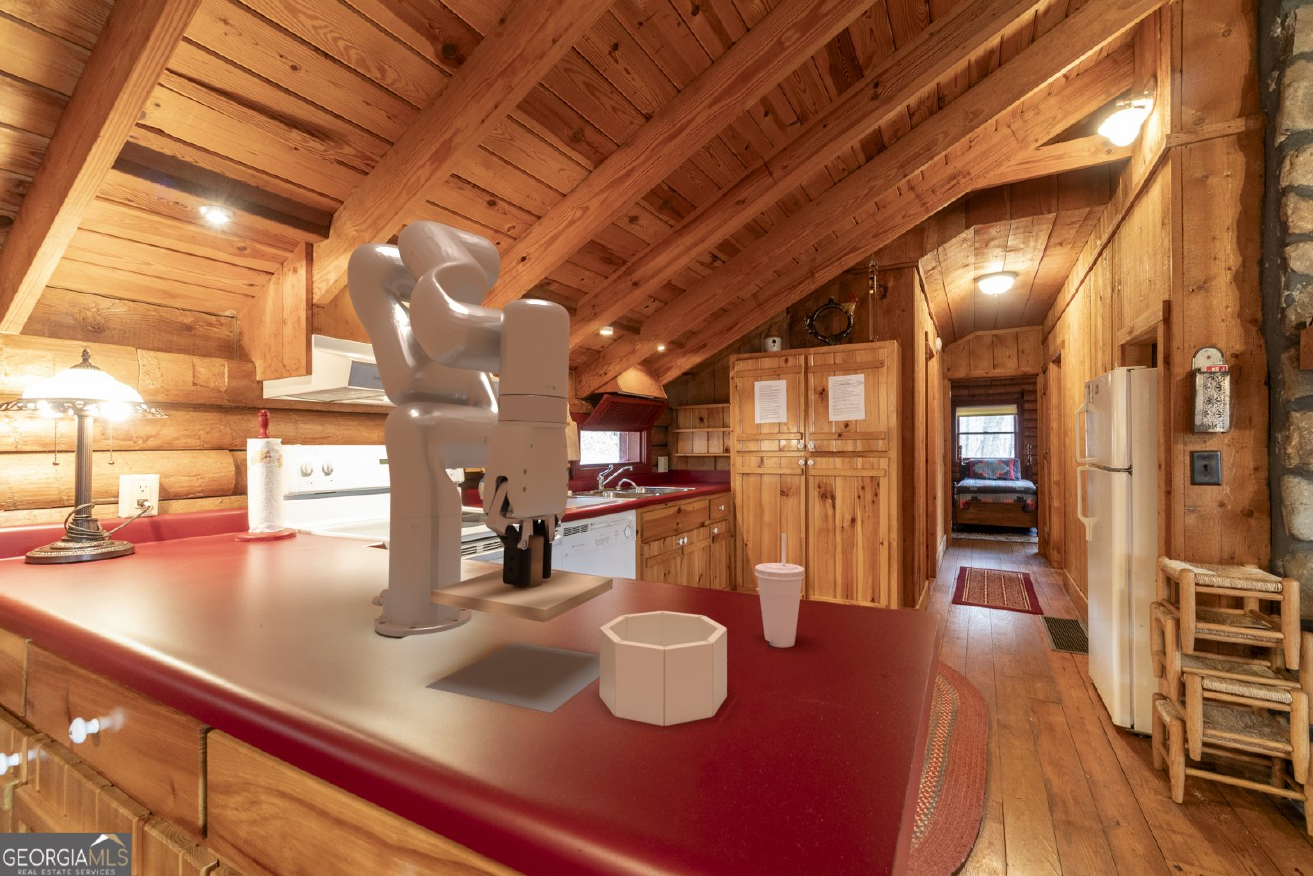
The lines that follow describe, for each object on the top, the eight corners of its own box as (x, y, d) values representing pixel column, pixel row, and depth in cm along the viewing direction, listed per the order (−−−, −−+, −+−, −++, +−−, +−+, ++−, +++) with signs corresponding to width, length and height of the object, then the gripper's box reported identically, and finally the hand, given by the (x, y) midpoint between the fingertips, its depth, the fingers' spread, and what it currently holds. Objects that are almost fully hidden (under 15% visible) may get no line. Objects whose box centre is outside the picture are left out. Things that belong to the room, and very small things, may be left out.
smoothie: (807, 652, 68) (806, 537, 69) (753, 649, 70) (753, 536, 70) (803, 636, 75) (803, 531, 75) (755, 633, 76) (755, 530, 76)
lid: (430, 602, 58) (432, 540, 58) (513, 574, 71) (515, 524, 71) (544, 622, 52) (547, 554, 52) (612, 588, 65) (614, 534, 65)
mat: (424, 691, 56) (424, 686, 57) (515, 646, 70) (515, 642, 70) (551, 718, 51) (551, 712, 51) (622, 663, 65) (622, 658, 65)
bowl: (581, 714, 52) (582, 638, 52) (634, 671, 62) (634, 607, 63) (701, 739, 47) (701, 655, 47) (735, 687, 58) (735, 619, 58)
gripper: (545, 418, 71) (541, 563, 71) (453, 409, 56) (446, 594, 55) (598, 419, 68) (593, 570, 68) (515, 409, 53) (508, 604, 53)
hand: (527, 579), depth 62 cm, fingers closed on lid, 3 cm apart
